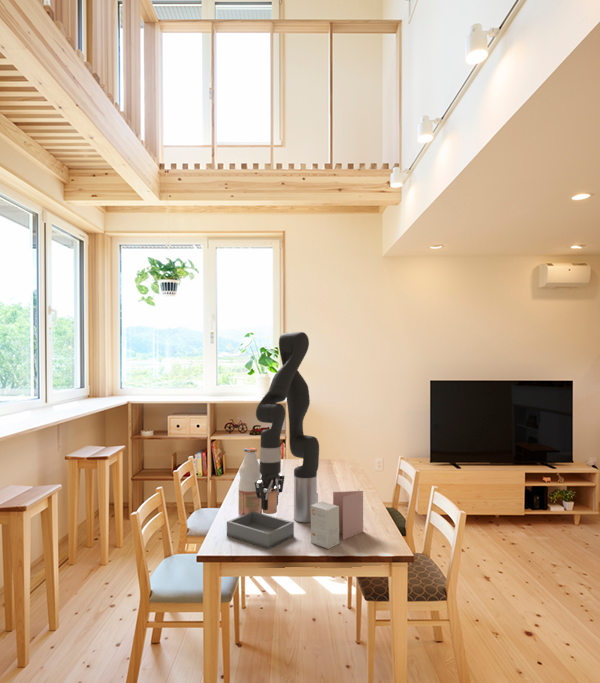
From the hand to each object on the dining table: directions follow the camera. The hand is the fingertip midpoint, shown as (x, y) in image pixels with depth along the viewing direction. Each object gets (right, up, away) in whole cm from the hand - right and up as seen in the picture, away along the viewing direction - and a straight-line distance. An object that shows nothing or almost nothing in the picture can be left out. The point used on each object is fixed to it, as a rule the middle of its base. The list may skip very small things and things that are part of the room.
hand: (269, 507), depth 160 cm
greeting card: (+29, -12, +4) cm, 32 cm away
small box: (+19, -12, -3) cm, 23 cm away
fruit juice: (-9, -13, +21) cm, 26 cm away
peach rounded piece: (0, -1, 0) cm, 1 cm away
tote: (-4, -12, +4) cm, 13 cm away
